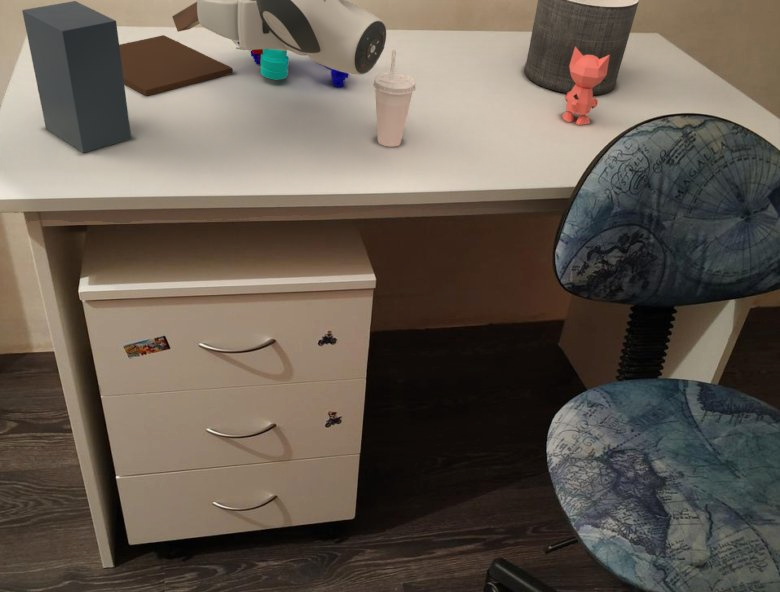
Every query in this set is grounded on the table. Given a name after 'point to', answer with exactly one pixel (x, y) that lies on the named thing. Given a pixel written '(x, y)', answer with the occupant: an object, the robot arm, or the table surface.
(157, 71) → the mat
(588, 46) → the planter
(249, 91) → the table surface
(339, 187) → the table surface
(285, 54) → the robot toy
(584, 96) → the cat figurine
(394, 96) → the smoothie
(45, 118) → the stand
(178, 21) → the brown wooden bar
